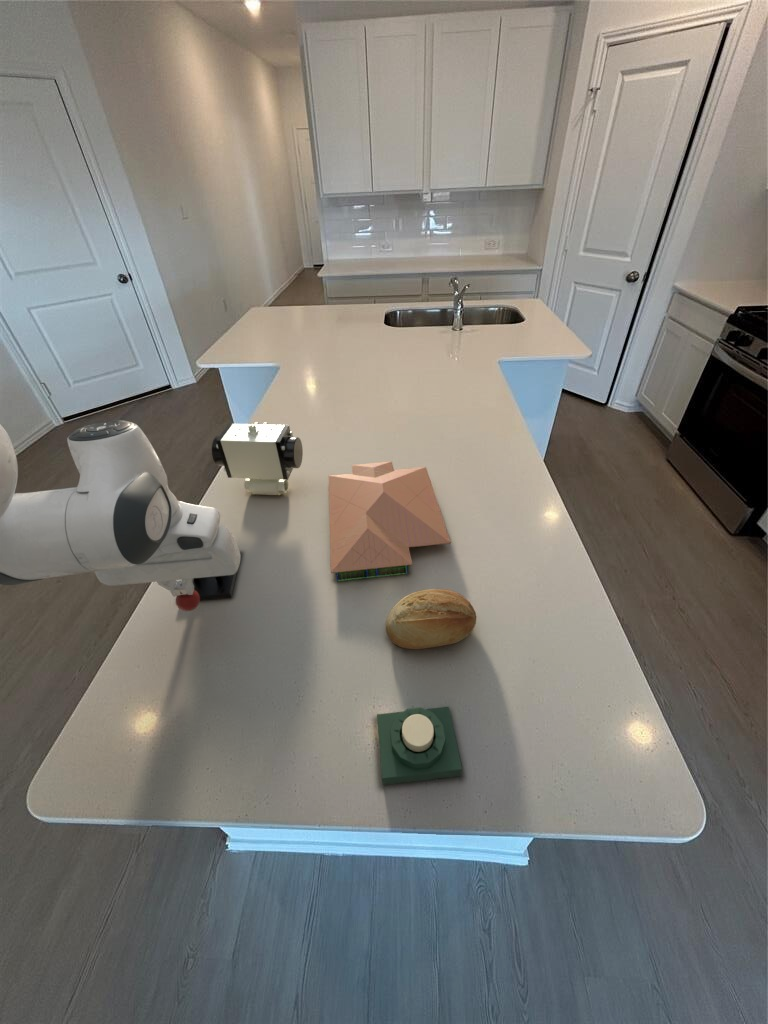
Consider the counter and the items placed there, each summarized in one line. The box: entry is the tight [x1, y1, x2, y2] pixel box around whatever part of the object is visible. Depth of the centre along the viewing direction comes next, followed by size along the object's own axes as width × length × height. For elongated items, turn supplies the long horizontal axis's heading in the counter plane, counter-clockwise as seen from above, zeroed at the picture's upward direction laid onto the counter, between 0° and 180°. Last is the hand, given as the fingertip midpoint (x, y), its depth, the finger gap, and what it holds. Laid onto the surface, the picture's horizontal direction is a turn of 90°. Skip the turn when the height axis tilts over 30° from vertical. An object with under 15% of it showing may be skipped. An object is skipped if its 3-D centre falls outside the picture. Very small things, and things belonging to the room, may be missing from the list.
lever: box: [175, 578, 201, 612], centre depth 73 cm, size 15×4×4 cm, turn 5°
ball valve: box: [211, 421, 304, 496], centre depth 98 cm, size 18×8×18 cm, turn 84°
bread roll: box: [384, 588, 477, 650], centre depth 70 cm, size 10×15×8 cm, turn 100°
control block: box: [376, 706, 463, 786], centre depth 57 cm, size 10×8×4 cm
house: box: [328, 460, 451, 582], centre depth 92 cm, size 23×33×8 cm
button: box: [402, 714, 434, 752], centre depth 56 cm, size 4×4×2 cm
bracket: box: [193, 549, 242, 601], centre depth 79 cm, size 11×9×14 cm
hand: (184, 592), depth 70 cm, fingers closed, pressing on lever
